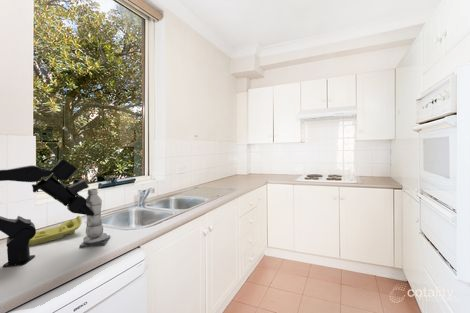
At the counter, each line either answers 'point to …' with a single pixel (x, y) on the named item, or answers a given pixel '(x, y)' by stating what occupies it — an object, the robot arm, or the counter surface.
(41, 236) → the plastic component
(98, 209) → the plastic bottle
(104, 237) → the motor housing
